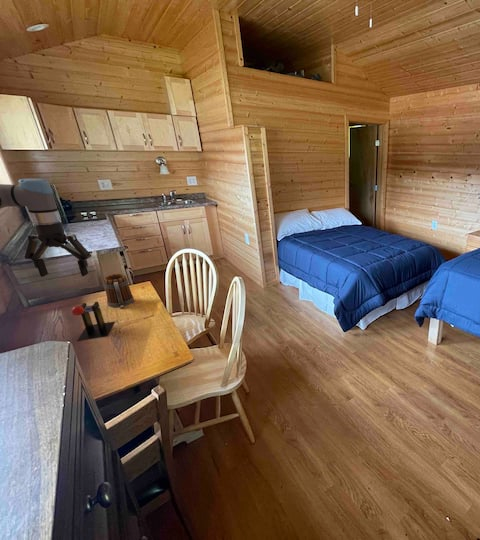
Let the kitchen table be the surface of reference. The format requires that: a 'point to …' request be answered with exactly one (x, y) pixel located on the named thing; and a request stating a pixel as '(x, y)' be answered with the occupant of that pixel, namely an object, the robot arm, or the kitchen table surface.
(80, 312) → the lever
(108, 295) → the mug
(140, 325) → the kitchen table surface
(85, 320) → the lever base
